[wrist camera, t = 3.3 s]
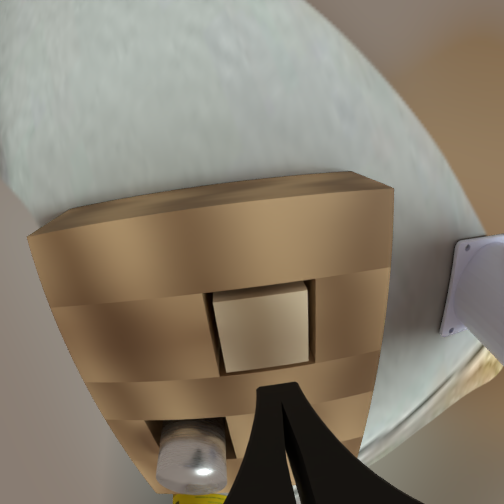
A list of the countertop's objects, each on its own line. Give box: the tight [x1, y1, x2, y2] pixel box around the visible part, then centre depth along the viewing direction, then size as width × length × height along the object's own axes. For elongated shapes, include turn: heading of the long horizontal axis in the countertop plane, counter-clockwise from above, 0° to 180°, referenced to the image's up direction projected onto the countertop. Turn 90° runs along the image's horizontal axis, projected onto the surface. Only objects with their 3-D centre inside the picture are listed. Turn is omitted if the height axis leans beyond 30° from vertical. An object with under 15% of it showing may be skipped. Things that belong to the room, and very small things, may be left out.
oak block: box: [27, 171, 394, 494], centre depth 19 cm, size 16×22×5 cm
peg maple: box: [213, 280, 308, 372], centre depth 16 cm, size 4×4×5 cm
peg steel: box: [156, 417, 227, 495], centre depth 17 cm, size 4×4×5 cm
